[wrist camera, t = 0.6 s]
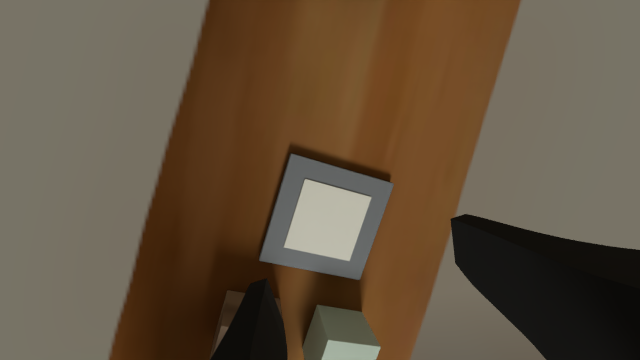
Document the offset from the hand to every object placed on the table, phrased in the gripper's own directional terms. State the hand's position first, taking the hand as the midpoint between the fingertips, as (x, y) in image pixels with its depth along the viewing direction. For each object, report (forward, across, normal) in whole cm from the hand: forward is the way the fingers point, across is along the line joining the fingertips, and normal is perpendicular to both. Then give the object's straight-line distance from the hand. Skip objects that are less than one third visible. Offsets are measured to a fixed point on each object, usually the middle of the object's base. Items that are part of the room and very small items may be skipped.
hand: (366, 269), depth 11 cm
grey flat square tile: (+11, 0, +3) cm, 11 cm away
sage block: (+10, +2, +13) cm, 16 cm away
